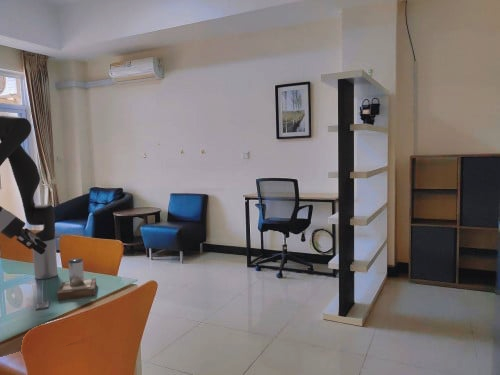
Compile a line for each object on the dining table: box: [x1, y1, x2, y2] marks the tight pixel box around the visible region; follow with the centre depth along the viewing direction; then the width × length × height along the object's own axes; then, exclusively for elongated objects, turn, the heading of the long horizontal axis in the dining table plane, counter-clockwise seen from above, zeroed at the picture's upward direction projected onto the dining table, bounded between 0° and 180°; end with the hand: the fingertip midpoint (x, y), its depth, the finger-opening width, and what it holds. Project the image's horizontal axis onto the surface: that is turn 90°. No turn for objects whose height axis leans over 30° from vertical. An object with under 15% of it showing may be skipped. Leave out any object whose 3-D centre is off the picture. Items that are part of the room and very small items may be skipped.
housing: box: [68, 257, 85, 287], centre depth 151 cm, size 5×5×10 cm
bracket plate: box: [35, 300, 50, 311], centre depth 139 cm, size 6×4×1 cm, turn 24°
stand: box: [56, 278, 97, 302], centre depth 152 cm, size 13×13×3 cm
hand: (44, 249), depth 146 cm, fingers open, 8 cm apart
